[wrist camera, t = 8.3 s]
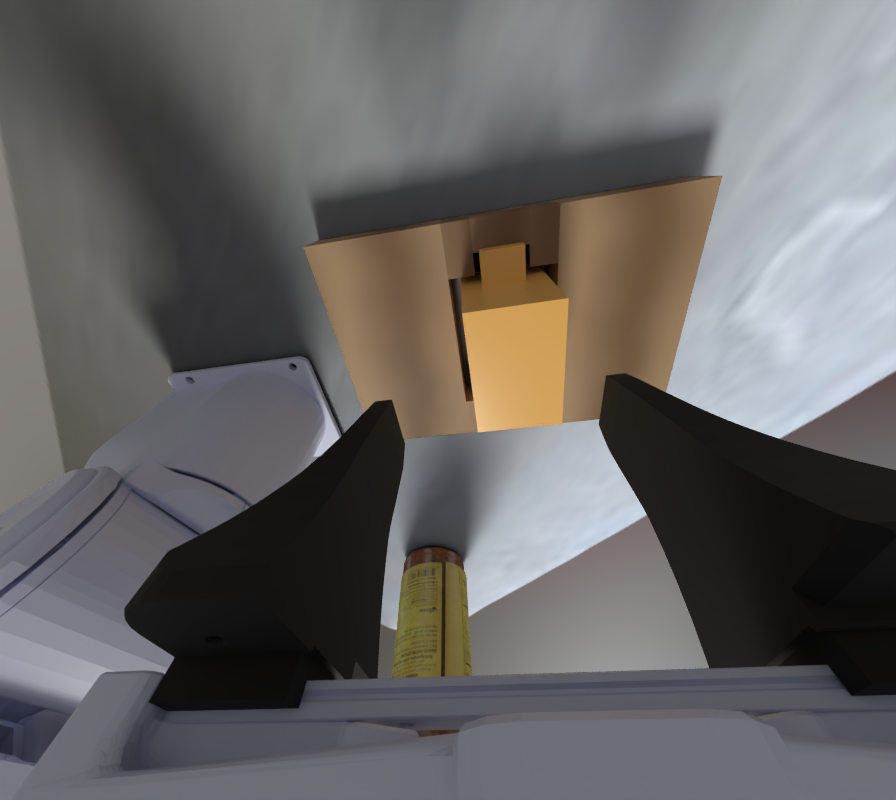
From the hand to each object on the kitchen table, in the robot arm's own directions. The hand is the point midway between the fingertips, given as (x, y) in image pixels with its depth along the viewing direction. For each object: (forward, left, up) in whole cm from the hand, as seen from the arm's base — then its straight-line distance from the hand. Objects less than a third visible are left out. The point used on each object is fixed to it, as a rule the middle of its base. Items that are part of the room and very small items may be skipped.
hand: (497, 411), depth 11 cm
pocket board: (+1, -1, -9) cm, 9 cm away
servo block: (+1, 0, -9) cm, 9 cm away
